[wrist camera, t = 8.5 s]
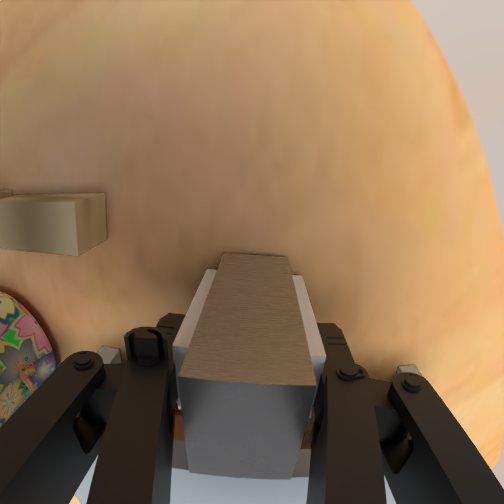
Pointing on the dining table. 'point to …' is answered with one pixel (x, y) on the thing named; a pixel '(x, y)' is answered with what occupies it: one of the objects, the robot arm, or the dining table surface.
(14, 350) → the mug
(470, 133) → the dining table surface
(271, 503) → the grey u-shaped bridge
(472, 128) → the dining table surface
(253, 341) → the grey piece
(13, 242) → the l-shaped tan bracket
